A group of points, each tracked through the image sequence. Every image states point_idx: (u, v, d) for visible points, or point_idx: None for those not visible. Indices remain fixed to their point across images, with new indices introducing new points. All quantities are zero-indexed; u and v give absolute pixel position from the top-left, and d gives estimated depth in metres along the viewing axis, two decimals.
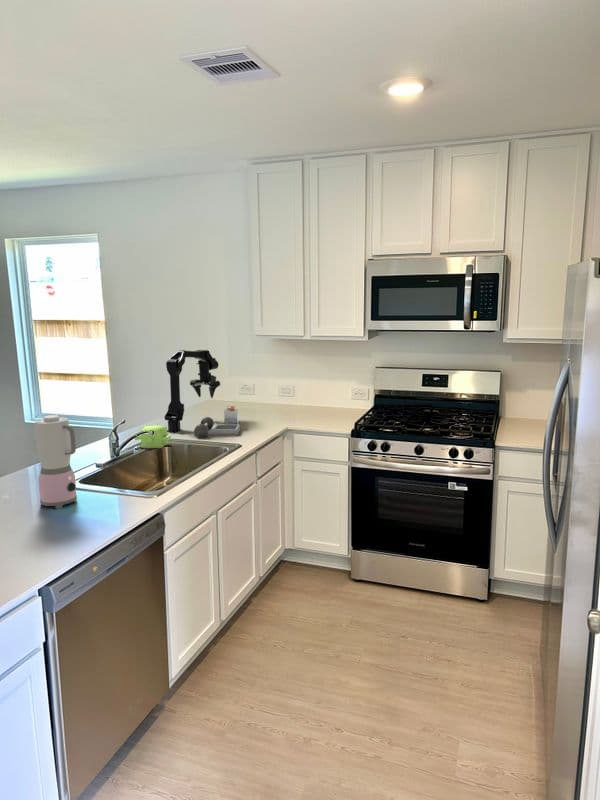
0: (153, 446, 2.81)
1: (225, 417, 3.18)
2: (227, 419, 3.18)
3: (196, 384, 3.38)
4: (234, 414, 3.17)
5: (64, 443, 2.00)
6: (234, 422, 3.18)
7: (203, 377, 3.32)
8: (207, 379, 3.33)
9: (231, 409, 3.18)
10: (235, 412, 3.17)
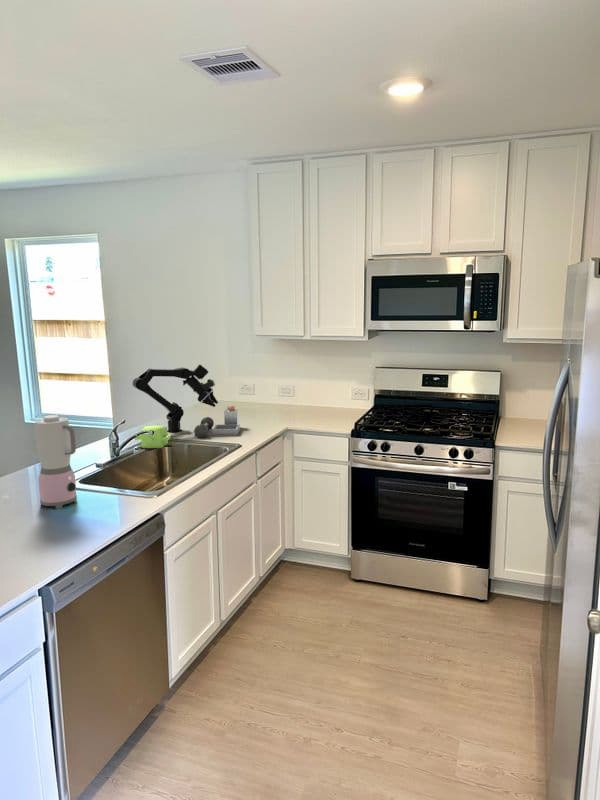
0: (153, 446, 2.81)
1: (225, 417, 3.18)
2: (227, 419, 3.18)
3: None
4: (234, 414, 3.17)
5: (64, 443, 2.00)
6: (234, 422, 3.18)
7: (197, 393, 3.17)
8: (200, 392, 3.16)
9: (231, 409, 3.18)
10: (235, 412, 3.17)
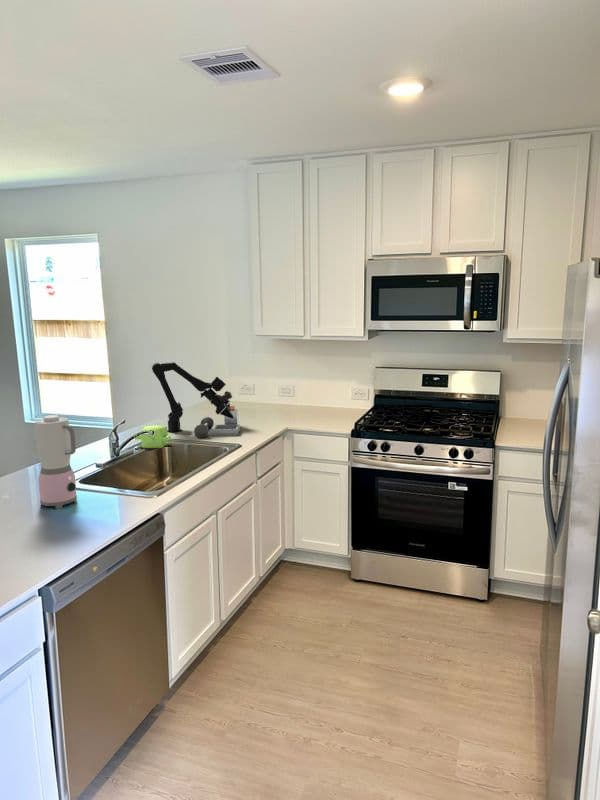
0: (153, 446, 2.81)
1: (225, 417, 3.18)
2: (227, 419, 3.18)
3: None
4: (234, 414, 3.17)
5: (64, 442, 2.00)
6: (234, 422, 3.18)
7: (214, 405, 3.18)
8: (217, 405, 3.17)
9: (231, 409, 3.18)
10: (235, 412, 3.17)
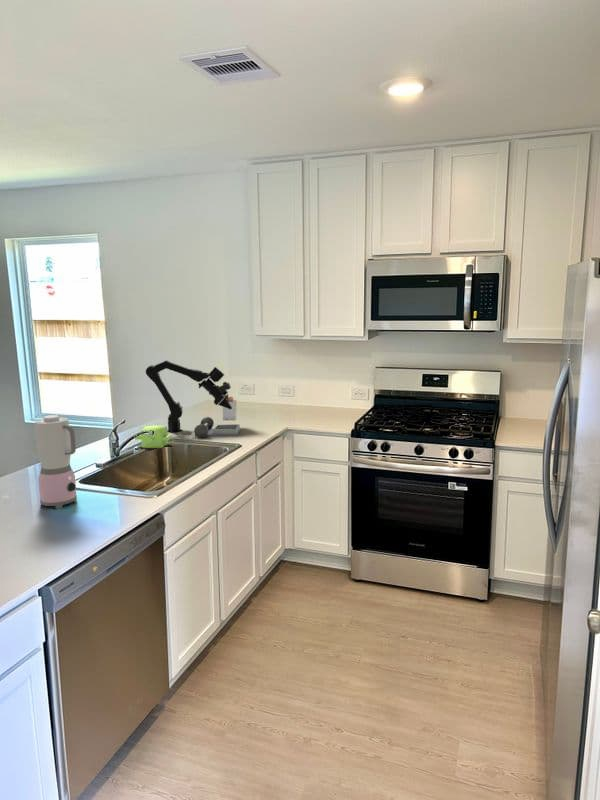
0: (153, 446, 2.81)
1: (223, 408, 3.14)
2: (226, 410, 3.14)
3: None
4: (233, 405, 3.14)
5: (64, 443, 1.99)
6: (233, 413, 3.15)
7: None
8: (216, 395, 3.13)
9: (229, 400, 3.14)
10: (234, 403, 3.13)
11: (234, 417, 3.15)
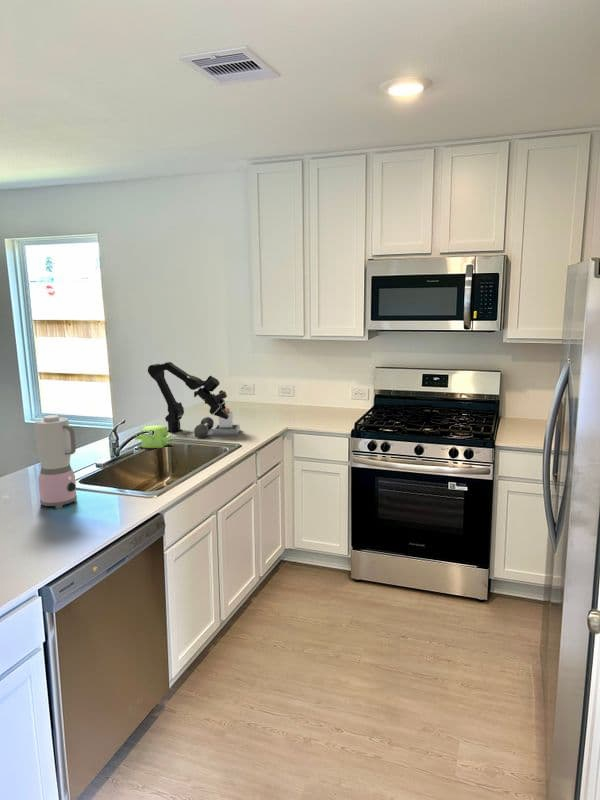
0: (153, 446, 2.81)
1: (220, 420, 3.06)
2: (222, 422, 3.06)
3: None
4: (229, 417, 3.06)
5: (64, 443, 1.99)
6: (229, 425, 3.06)
7: None
8: (212, 404, 3.05)
9: (226, 411, 3.06)
10: (230, 414, 3.05)
11: None
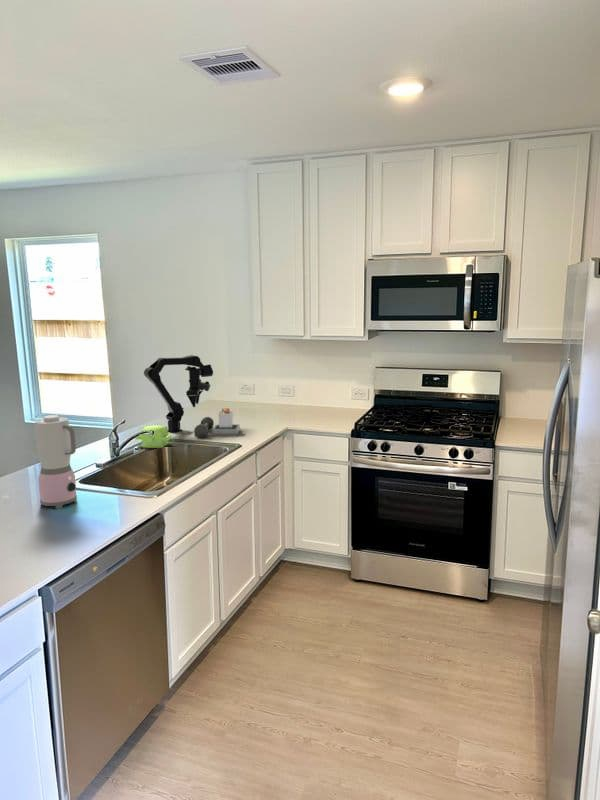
0: (153, 446, 2.81)
1: (220, 420, 3.06)
2: (222, 422, 3.06)
3: None
4: (229, 417, 3.06)
5: (64, 443, 1.99)
6: (229, 425, 3.06)
7: None
8: (192, 386, 3.17)
9: (226, 411, 3.06)
10: (230, 414, 3.05)
11: None
